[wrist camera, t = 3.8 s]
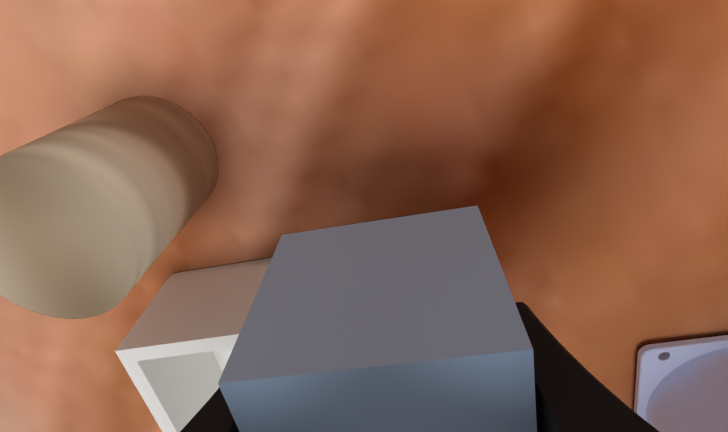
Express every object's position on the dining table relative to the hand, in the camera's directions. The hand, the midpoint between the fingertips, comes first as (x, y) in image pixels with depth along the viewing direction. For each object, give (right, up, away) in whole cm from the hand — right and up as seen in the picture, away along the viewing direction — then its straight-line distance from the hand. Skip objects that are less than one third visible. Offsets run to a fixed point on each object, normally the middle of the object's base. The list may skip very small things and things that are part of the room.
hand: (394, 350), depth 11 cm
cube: (0, +1, +1) cm, 2 cm away
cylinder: (-9, +6, +8) cm, 13 cm away
